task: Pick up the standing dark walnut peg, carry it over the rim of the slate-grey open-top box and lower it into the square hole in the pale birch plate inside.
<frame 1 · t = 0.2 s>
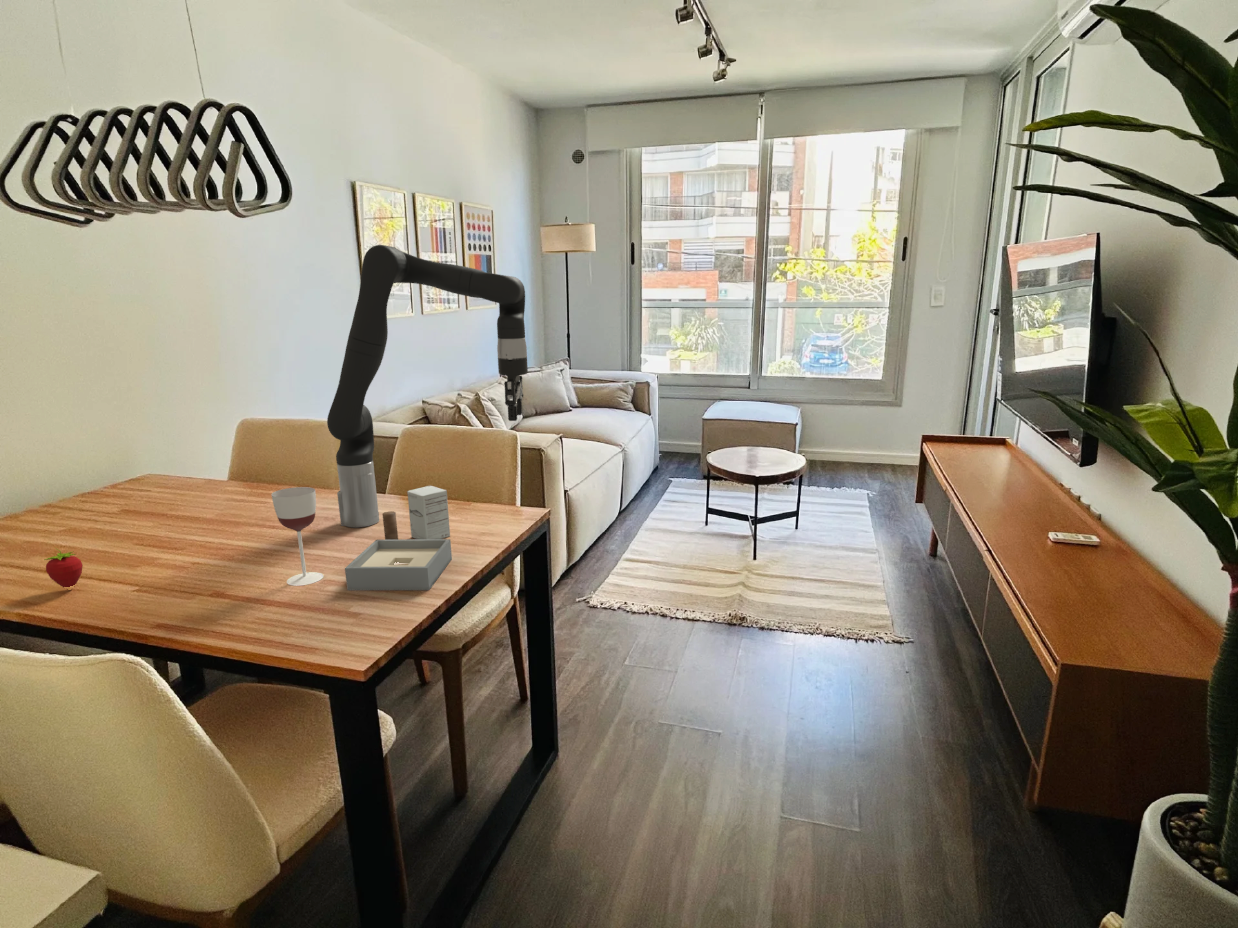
hand: (515, 417, 182), 29 cm above the table, tool pointing down, fingers open, 8 cm apart
peg box: (402, 573, 154), on the table
strawberry: (69, 591, 149), on the table
peg: (393, 552, 168), on the table
supplement box: (431, 537, 178), on the table
wineglass: (305, 579, 153), on the table
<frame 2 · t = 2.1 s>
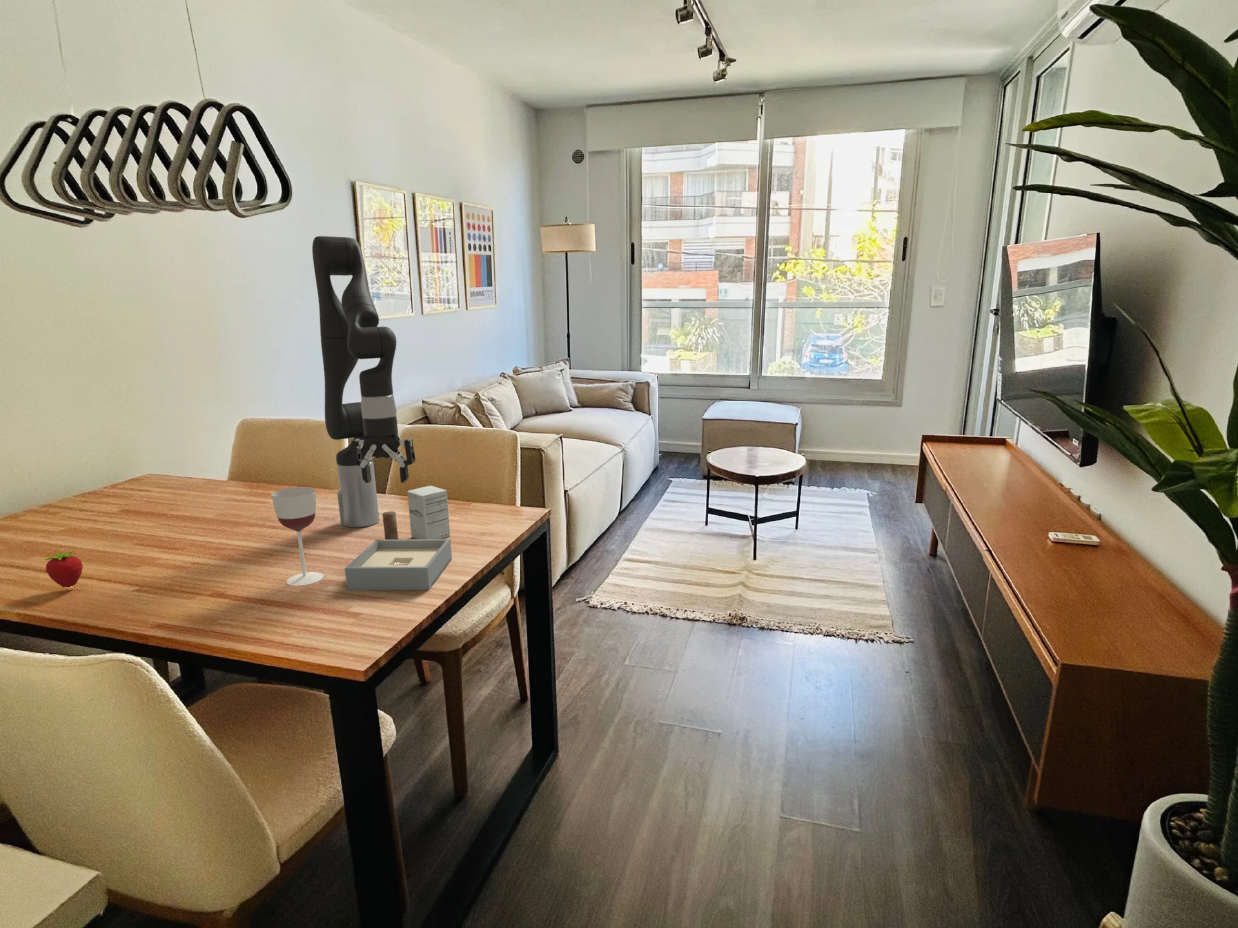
hand: (386, 482, 164), 18 cm above the table, tool pointing down, fingers open, 8 cm apart
nothing on the table moved.
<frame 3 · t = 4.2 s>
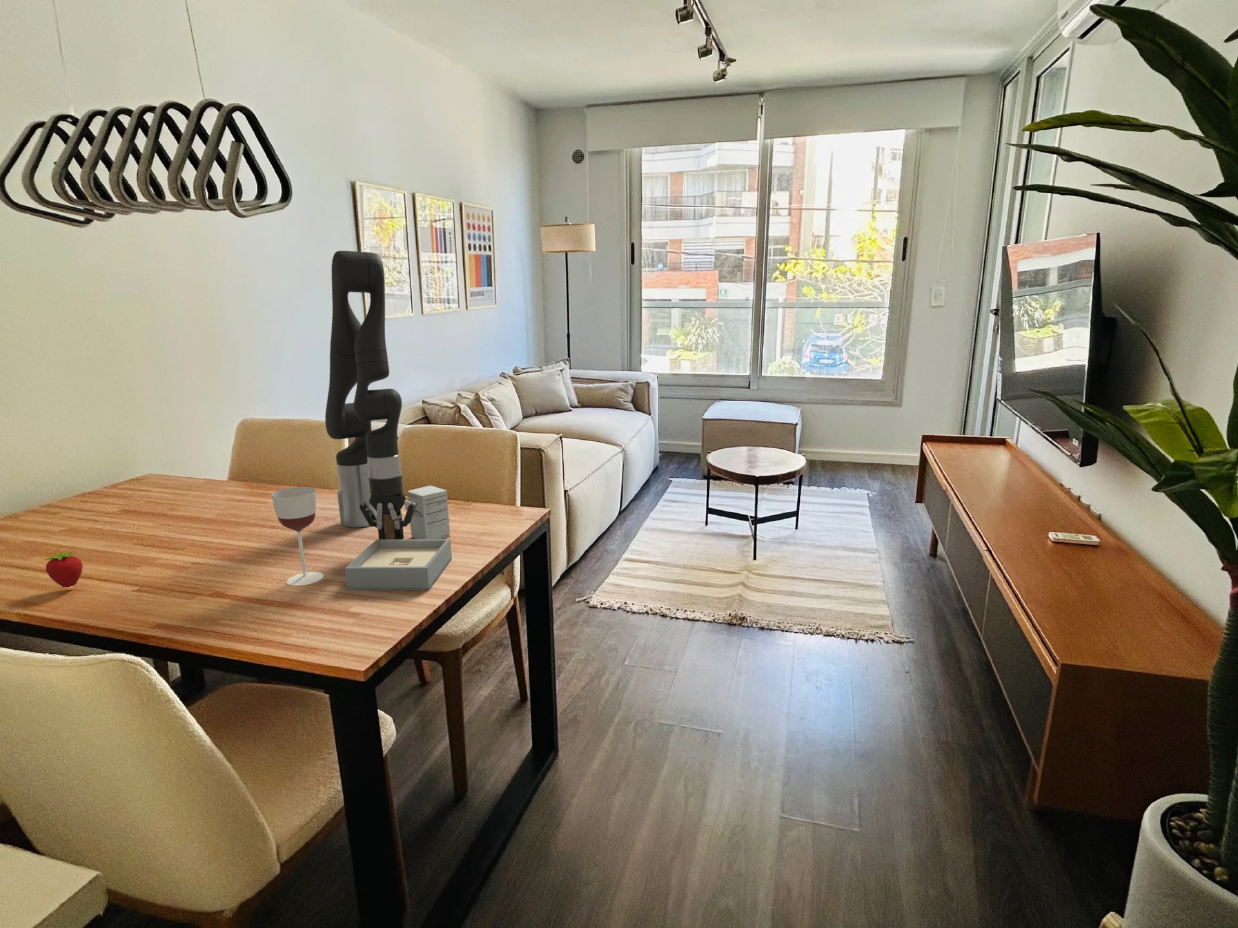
hand: (392, 542, 167), 3 cm above the table, tool pointing down, fingers closed on peg, 3 cm apart
peg: (392, 552, 168), on the table, touching gripper
everything else where it was.
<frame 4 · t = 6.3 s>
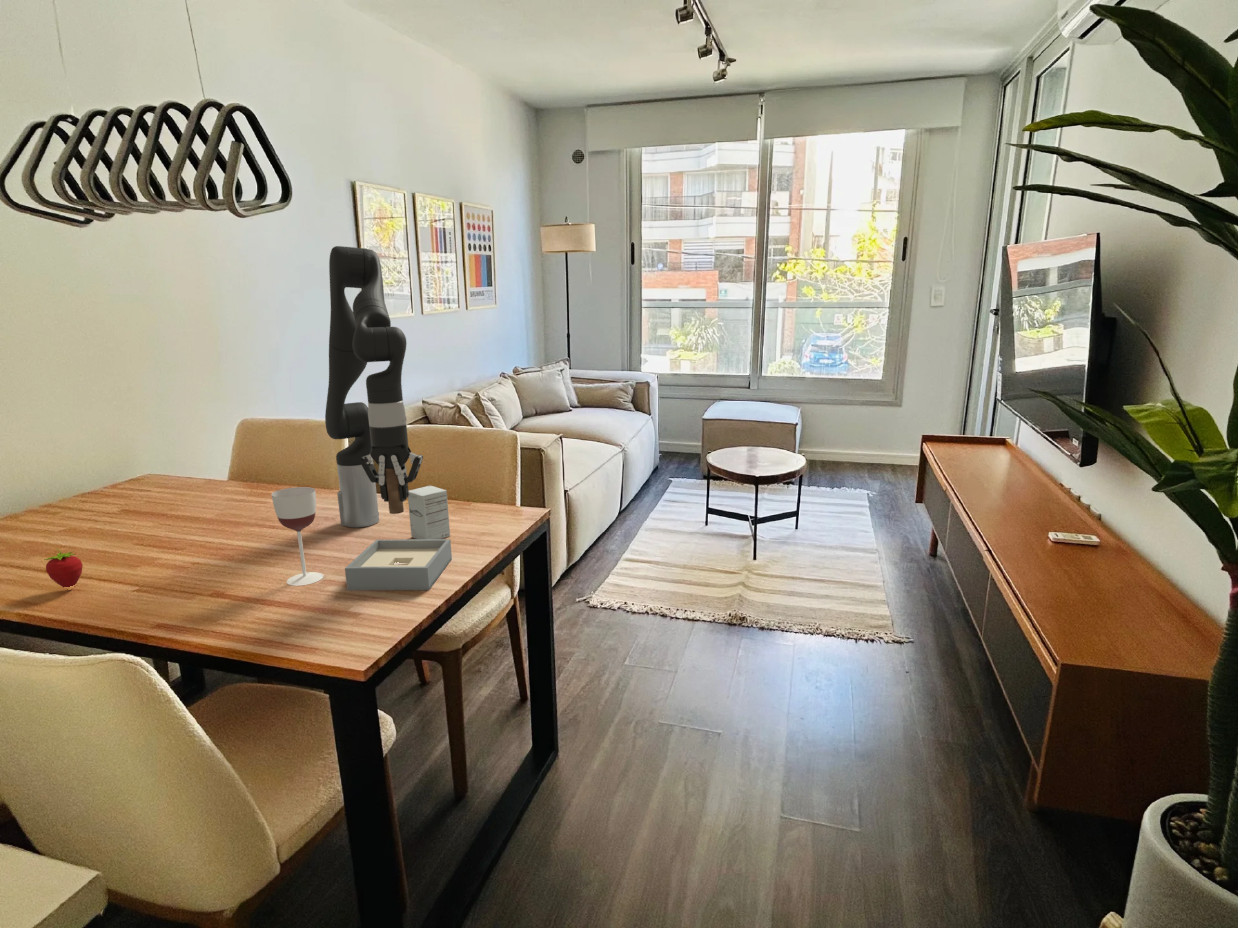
hand: (395, 500, 150), 17 cm above the table, tool pointing down, fingers closed on peg, 3 cm apart
peg: (396, 511, 151), point 15 cm above the table, touching gripper
everything else where it was.
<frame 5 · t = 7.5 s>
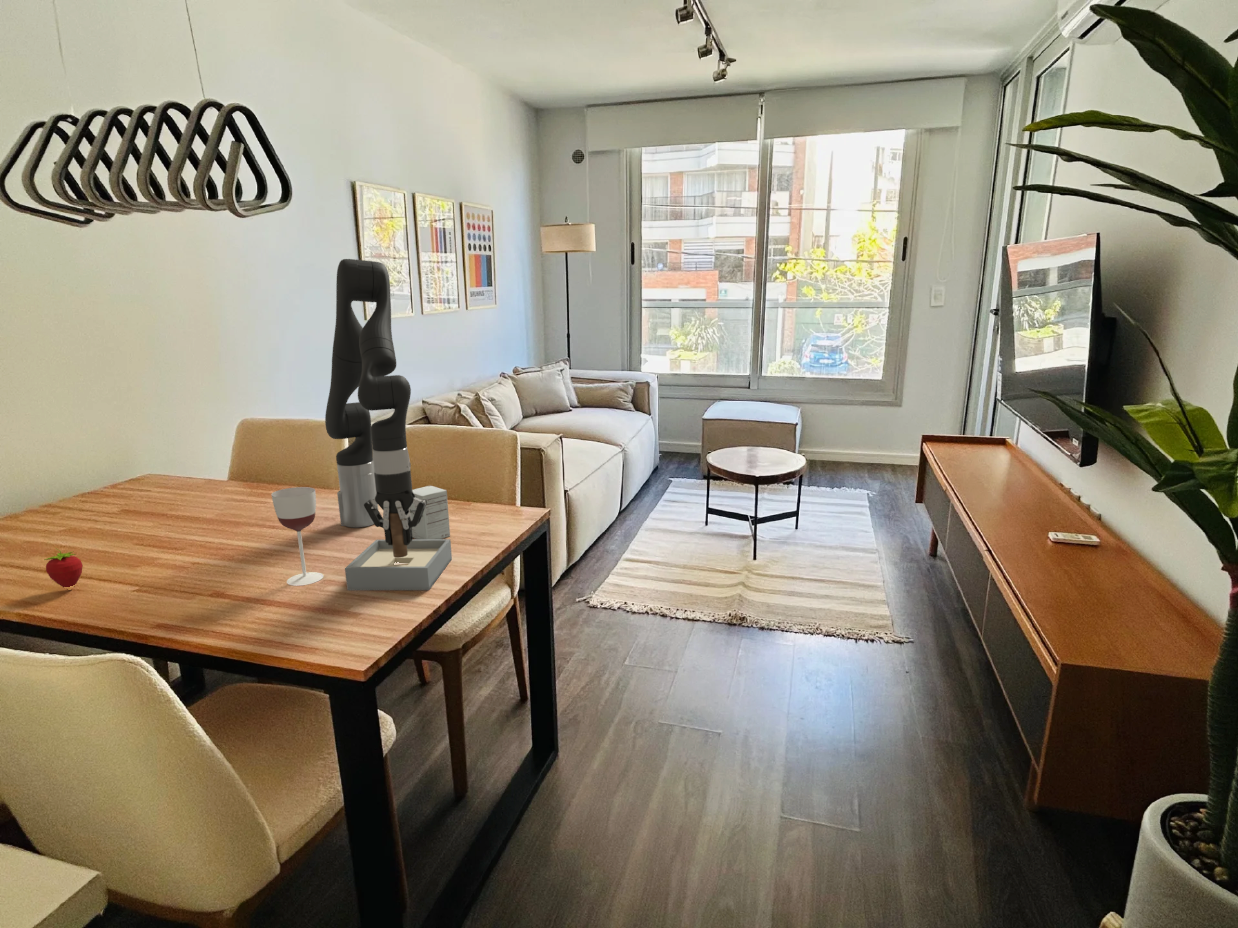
hand: (399, 543, 153), 7 cm above the table, tool pointing down, fingers closed on peg, 3 cm apart
peg: (400, 554, 153), point 5 cm above the table, touching gripper
everything else where it was.
when the fingers open (4 cm above the table, at t = 8.4 s): peg stays where it is, resting on peg box.
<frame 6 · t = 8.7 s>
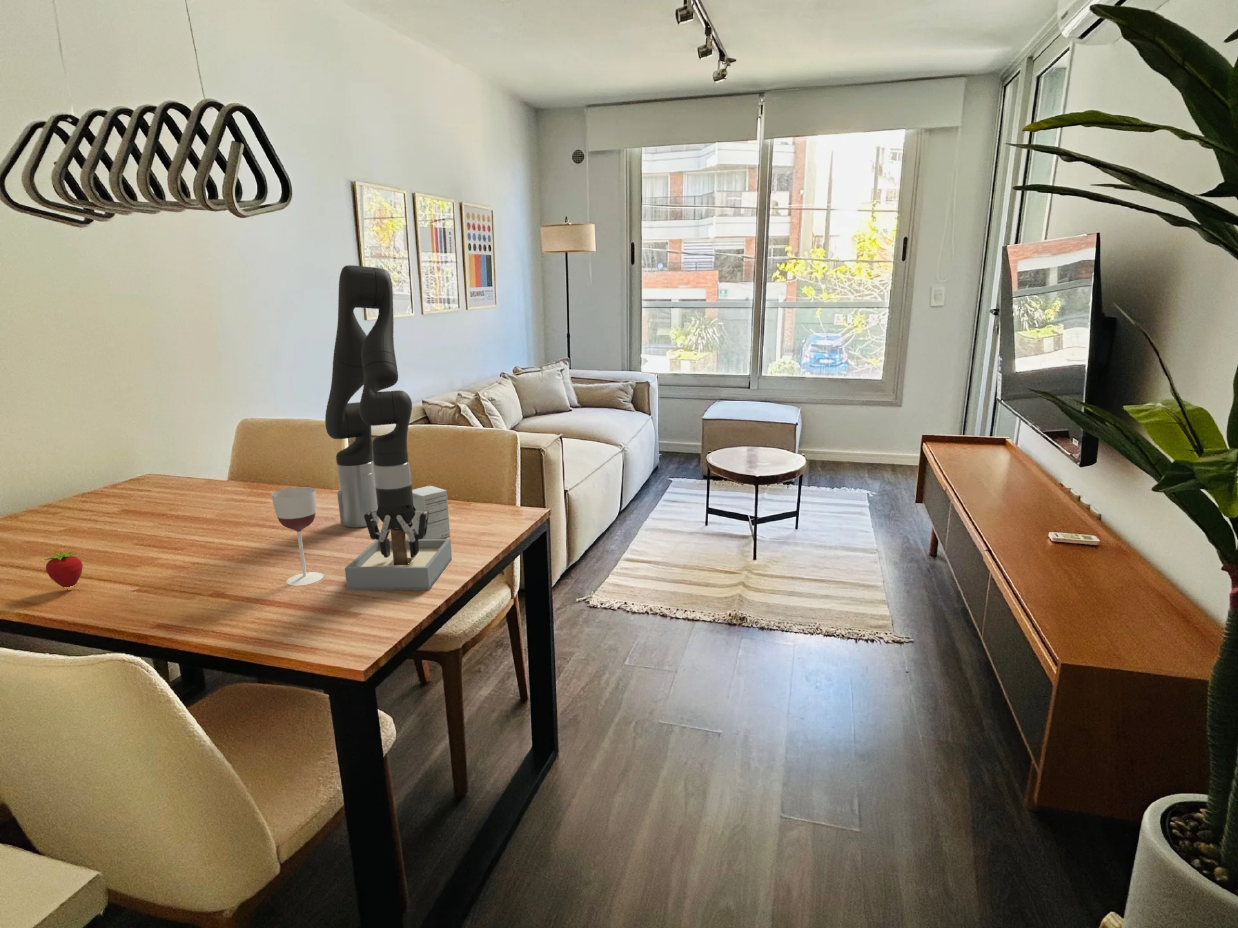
hand: (400, 556, 153), 4 cm above the table, tool pointing down, fingers open, 5 cm apart
peg: (401, 571, 154), point 1 cm above the table, touching peg box
everything else where it was.
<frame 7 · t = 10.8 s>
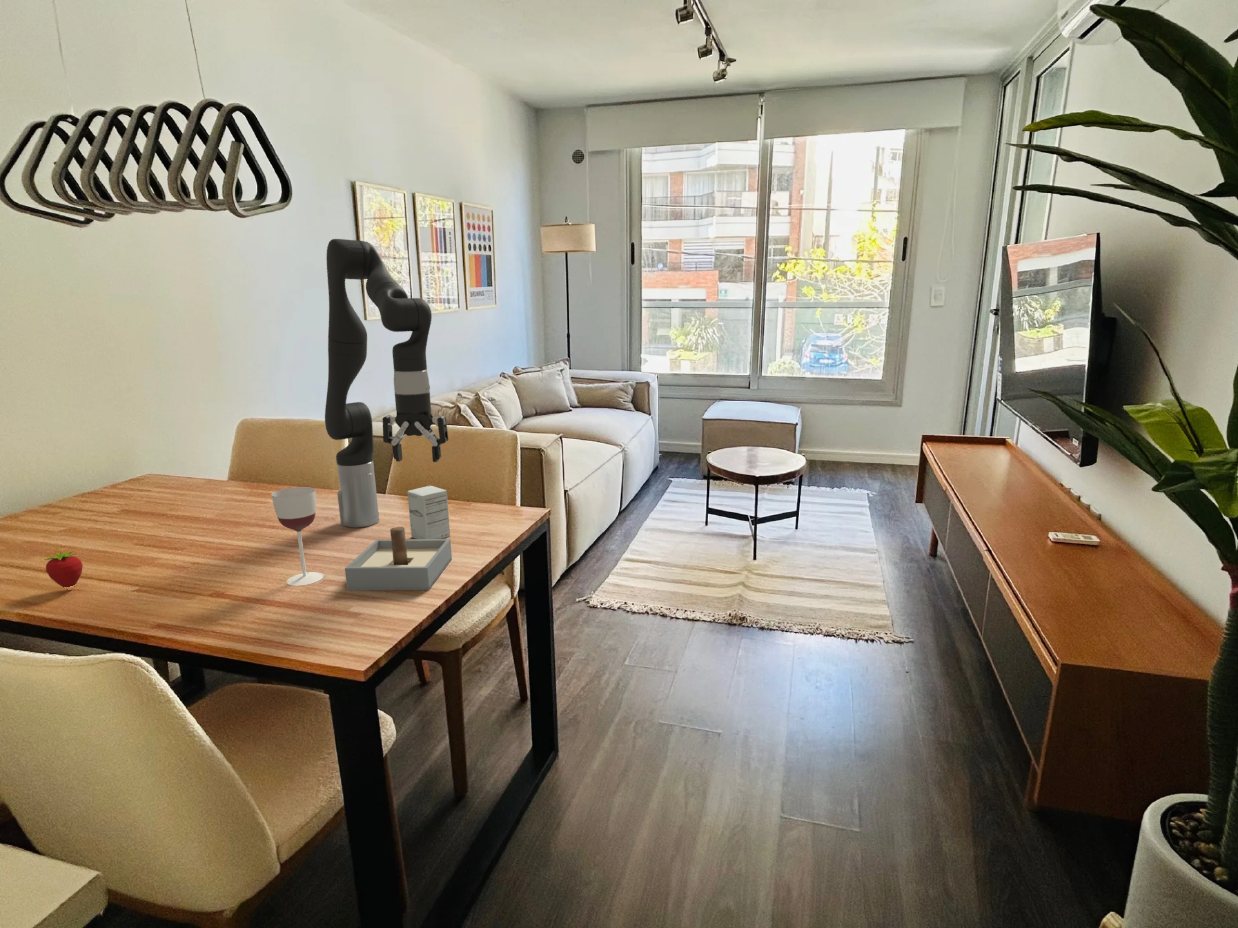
hand: (417, 461, 157), 24 cm above the table, tool pointing down, fingers open, 8 cm apart
nothing on the table moved.
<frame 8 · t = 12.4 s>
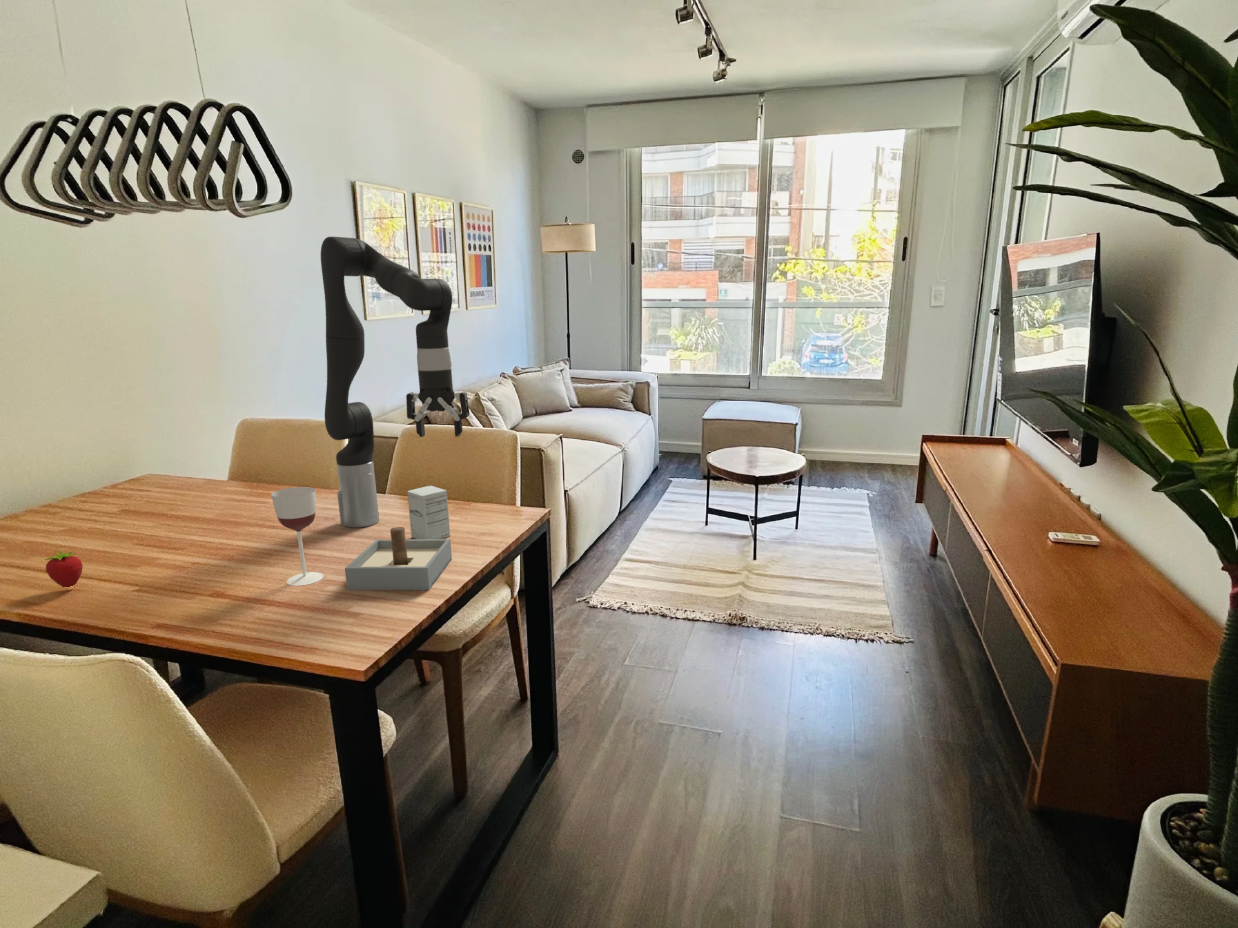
hand: (440, 436, 164), 28 cm above the table, tool pointing down, fingers open, 8 cm apart
nothing on the table moved.
at the end: peg 0.1 cm off-centre on the peg box, point 0.6 cm above the peg box's base; peg tilted 0°; the gripper is holding nothing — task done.
